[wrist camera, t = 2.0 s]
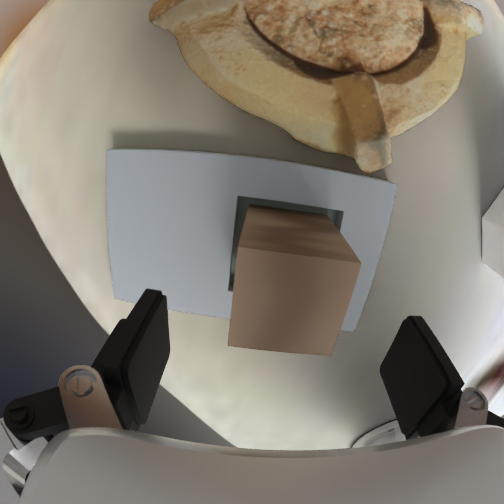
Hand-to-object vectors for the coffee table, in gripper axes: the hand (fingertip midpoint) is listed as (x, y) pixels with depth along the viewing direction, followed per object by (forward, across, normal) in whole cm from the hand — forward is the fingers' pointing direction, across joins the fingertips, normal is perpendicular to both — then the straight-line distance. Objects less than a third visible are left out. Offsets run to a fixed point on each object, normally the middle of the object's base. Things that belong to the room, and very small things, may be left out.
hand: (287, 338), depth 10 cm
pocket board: (+11, +2, +1) cm, 11 cm away
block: (+11, -1, +1) cm, 11 cm away
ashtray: (+12, -2, -18) cm, 22 cm away
